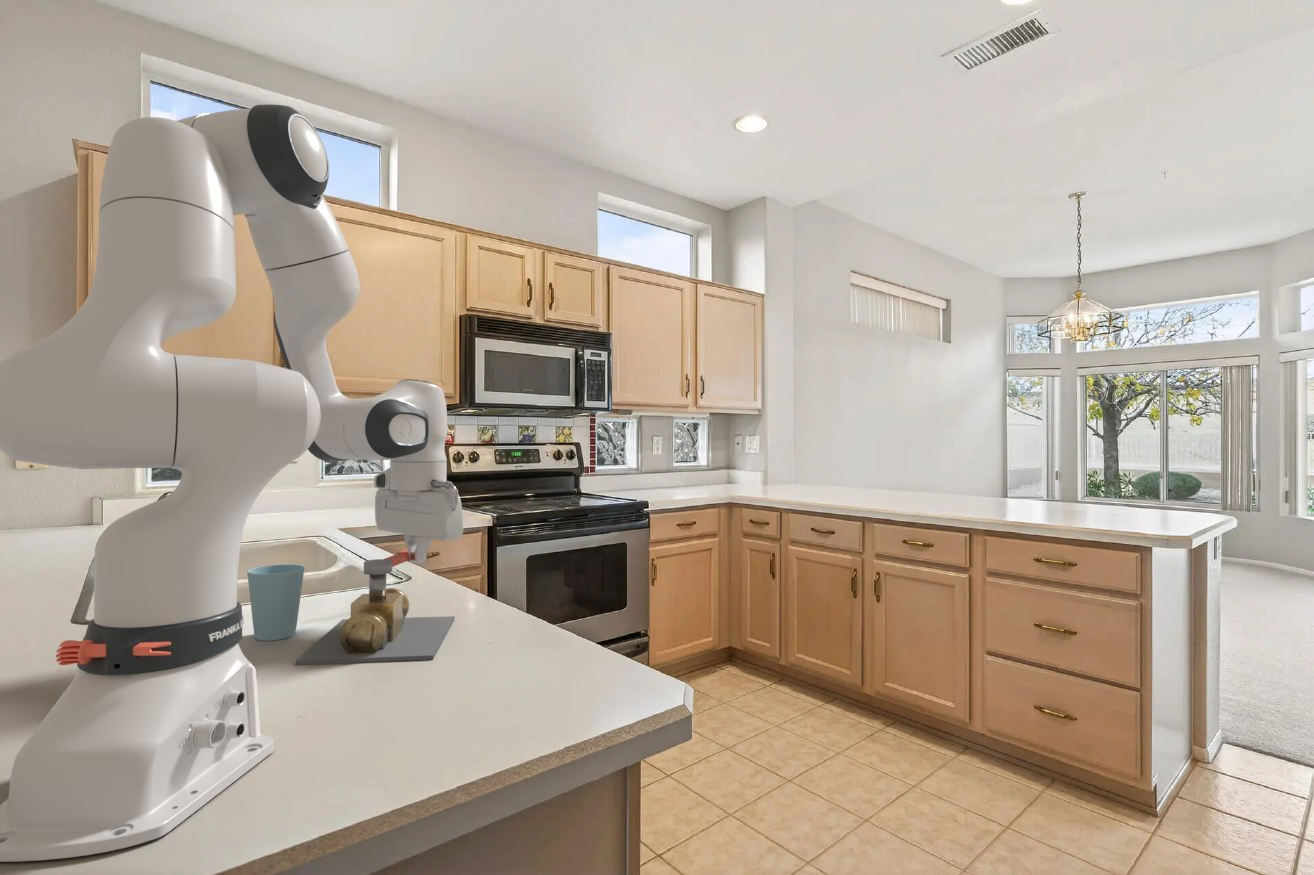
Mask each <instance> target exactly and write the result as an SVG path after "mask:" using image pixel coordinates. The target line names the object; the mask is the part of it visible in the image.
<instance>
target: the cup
mask: <svg viewBox="0 0 1314 875" xmlns="http://www.w3.org/2000/svg"><path fill="white" fill-rule="evenodd" d="M304 573H305V566H304V565H301V564H291V563H287V564H286V563H285V564H283V563H281V564H271V565H270V564H269V565H262V566H257V567H253V568H251V569H248V570H247V571H246V574H247V583H248V590H249V598H250V599H249V600H250V608H251V618H252V626H253V627H252V628H253V635H254V639H255V640H257V641H260V642H261V641H262V642H270V641H273V642H274V641H279V640H284V639H288V638H291V637H293V636H295V635H296V634H297V633H296V632H297V627H298V626H297V625H298V618H299V610H300V603H301V598H302V596H301V595H302V588H303V580H304Z"/></svg>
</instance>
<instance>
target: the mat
mask: <svg viewBox="0 0 1314 875" xmlns="http://www.w3.org/2000/svg"><path fill="white" fill-rule="evenodd" d="M348 619H349V618H347V619H346V618H345V619H341V620H340V621H339V622H338V623H337V624H335V625H334V626H333V627H332V628H331V629H329V631H328V632H327V633H325V634H324V635H323V636H322V637H320V638H319V639H318V640H317V641H316V642H315V643H314V644H313V645H311V646H310V647H309V648H308V649H307V650H306V651H304V652H303V653H302V654H301V655H300V656H299V657H297V659H295V663H294V664H295V665H296V666H297V665H298V666H299V665H323V664H326V665H327V664H348V663H349V664H350V663H351V664H352V663H353V664H354V663H379V662H402V661H403V662H404V661H405V662H406V661H426V660H427V661H431V660H434V659H435V657H436V655H437V653H438V652H439V649H440V648H441V645H442V643H443V642H444V640H445V638H446V636H447V635H448V632H449V631H450V629H451V627H452V626H453V623H454V622H455V616H426V617H425V616H422V617H419V616H418V617H417V616H416V617H405V618H404V624H403V625H402V631H401V632H400V633H399V634H398V636H397V637H396V638H395V639H394V641H393V642H389V643H388V644H387V645H386V646H385V648H384V649H378V650H377V651H376V652H375V653H357V654H349V653H348V652H346V651H345V650H344V648H343V647H342V645H341V643H340V630H341V628H342V626H343V624H344V623H345V622H346V621H347V620H348Z"/></svg>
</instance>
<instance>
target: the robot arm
mask: <svg viewBox="0 0 1314 875" xmlns="http://www.w3.org/2000/svg"><path fill="white" fill-rule="evenodd" d="M329 176H330V163H329V157H328V154H327V150H326V147H325V145H324V142H323V141H322V139H321V136H320V134H319V133H318V131H317V129H316V128H315V127H314V125H313V124H312V123H311V122H310V121H309V119H307V118H306V117H305V116H303V115H302V114H301V113H300V112H299V111H297V110H296V109H294V108H293V107H291V106H289V105H283V104H256V105H254V106H252V108H240V109H229V110H223V111H217V112H212V113H207V112H205V113H199V114H196V115H195V114H194V115H192V116H188V117H185V118H182V119H178V120H173V119H171V118H165V117H157V116H156V117H155V116H151V117H150V116H149V117H147V116H146V117H139V118H135V119H132V120H129V121H127V122H125V123H123V124H122V125H121V126H120V127H119V128H118V129H117V130H116V131H115V133H114V135H113V136H112V139H111V142H110V145H109V149H108V152H107V156H106V159H105V162H104V167H103V173H102V179H101V185H100V186H101V187H100V194H99V210H98V211H99V212H98V242H97V243H98V244H97V255H96V264H95V270H94V277H93V281H92V285H91V288H90V291H89V293H88V295H87V297H86V299H85V300H84V303H83V304H82V306H80V308H79V309H78V310H77V312H76V313H75V314H74V315H73V316H72V317H71V318H70V319H69V320H68V321H67V322H66V323H65V324H63V326H61V327H60V328H59V329H57V330H56V331H55V332H53V333H52V334H50V335H48V336H47V337H45V338H43V339H41V340H40V341H38V342H36V343H33V344H31V345H29V346H27V347H24V348H22V349H20V350H17V351H15V352H13V353H11V354H10V355H8V356H6V357H5V358H3V359H2V360H1V361H0V450H1V452H3V453H4V454H5V455H6V456H8V457H9V458H11V459H12V460H14V461H19V462H25V463H31V464H38V465H39V464H40V465H44V466H50V467H51V466H52V467H58V468H59V467H60V468H69V469H70V468H71V469H77V470H78V469H79V470H100V469H101V470H106V469H108V470H109V469H112V470H113V469H114V470H115V469H161V468H162V469H163V468H165V469H166V468H169V469H172V470H178V471H179V472H181V476H180V480H179V483H178V485H177V486H176V488H174V490H173V491H172V492H171V493H170V494H168V495H166V496H165V497H163V498H161V499H158V500H156V501H153V502H151V503H149V504H146V505H144V506H141V507H139V508H137V509H135V510H133V511H131V512H128V513H127V514H124V515H123V516H121V517H119V518H117V519H116V520H115V521H113V522H112V523H110V524H109V526H107V527H106V528H105V529H104V530H103V531H102V533H101V534H100V535H99V537H98V539H97V541H96V544H95V546H94V576H93V580H94V583H93V584H94V585H93V586H94V587H93V618H92V619H91V620H90V622H88V624H87V628H86V631H85V634H84V636H83V637H82V641H81V640H74V639H67V640H64V641H63V642H61V643H60V644H59V646H58V649H56V653H57V654H55V658H56V660H55V661H56V663H58V665H60V666H68V665H69V666H70V665H74V664H76V666H77V668H78V669H79V670H78V672H77V674H76V675H75V676H74V678H73V680H71V683H70V684H69V686H67V688H66V689H65V691H64V692H63V693H62V694H61V696H60V697H59V698H58V700H57V701H56V703H54V705H53V706H52V708H51V709H50V710H49V712H48V713H47V714H46V716H45V717H44V718H43V719H42V721H41V722H40V723H39V725H38V726H37V728H36V729H35V730H34V731H33V733H32V735H30V737H29V738H28V739H27V740H26V742H25V743H24V745H23V746H22V747H21V748H20V749H19V750H18V752H17V754H16V756H15V759H14V761H13V765H12V767H11V773H10V779H9V786H8V787H9V789H8V797H7V798H6V799H5V801H3V802H2V803H1V804H0V862H8V863H9V862H30V861H31V862H33V861H34V862H35V861H48V860H49V861H50V860H59V859H68V858H76V857H83V856H90V855H95V854H101V853H107V852H112V851H115V850H116V851H117V850H122V849H125V848H129V847H132V846H136V845H140V844H143V843H146V842H150V841H153V840H156V839H158V838H161V837H163V836H164V835H167V833H170V831H172V830H173V829H175V827H177V826H179V824H181V823H183V822H184V821H185V820H186V819H188V818H189V817H190V816H191V815H193V814H194V813H195V812H196V811H198V810H199V809H200V808H202V807H203V806H204V805H206V804H207V803H208V802H210V801H211V800H212V799H214V798H215V797H216V796H218V795H219V794H221V793H222V791H224V790H225V789H226V788H228V787H229V786H230V785H232V784H233V783H234V782H236V781H237V780H238V779H240V778H241V777H242V776H243V775H245V774H246V773H247V772H248V771H250V770H251V769H253V767H255V766H257V765H258V764H259V763H261V762H262V761H263V760H264V759H266V758H267V757H268V756H269V755H271V754H272V753H273V752H274V751H275V743H274V738H273V737H271V736H269V735H267V734H263V733H261V725H260V724H261V723H260V710H259V697H258V696H259V695H258V680H257V679H258V678H257V670H256V667H255V666H254V665H253V663H252V662H251V661H249V659H247V657H246V656H245V655H244V653H243V651H242V649H241V647H240V644H239V642H240V641H242V639H243V626H244V615H243V606H242V604H241V603H240V602H239V601H238V582H239V581H238V579H239V566H240V565H239V564H240V555H241V554H240V553H241V545H242V538H243V532H244V527H245V524H246V521H247V519H248V516H249V514H250V511H251V509H252V508H253V505H254V503H255V501H256V500H257V498H258V496H259V495H260V494H261V493H262V491H263V490H264V489H265V487H267V485H268V484H269V482H270V481H271V480H272V479H273V478H274V477H275V476H276V475H277V474H278V473H279V472H280V471H281V470H283V469H284V468H285V467H287V466H288V465H290V464H291V463H293V462H294V461H296V460H298V458H300V457H301V456H303V455H304V454H305V452H306V451H309V453H310V454H311V455H312V456H314V457H315V458H316V459H318V460H321V461H324V462H330V463H333V462H335V463H336V462H343V461H344V462H345V461H352V460H353V461H387V460H389V462H390V463H389V467H388V468H386V469H385V470H384V471H382V472H380V473H378V474H376V475H375V476H374V478H373V487H374V488H375V489H377V491H376V492H375V496H374V497H375V498H374V500H375V501H374V517H375V524H376V527H377V529H378V530H379V531H382V532H388V533H395V534H398V535H399V534H400V535H404V544H405V547H406V549H408V552H409V561H408V562H410V563H414V564H418V565H419V564H425V563H426V561H427V552H428V550H429V548H430V545H431V543H432V540H437V541H455V540H459V539H460V538H461V537H462V535H463V533H464V519H463V518H464V517H463V516H464V515H463V507H462V506H463V505H462V500H461V497H460V495H459V490H458V488H457V487H456V486H455V485H454V482H452V481H449V480H447V477H448V476H447V475H448V474H447V471H448V470H447V466H448V462H447V461H448V459H447V455H446V450H445V446H446V445H445V444H446V440H447V438H448V410H447V403H446V402H447V400H446V398H445V393H444V390H443V389H442V387H440V386H439V385H437V384H435V383H432V382H430V381H427V380H419V379H413V378H412V379H411V378H410V379H409V378H408V379H406V378H405V379H401V380H398V381H397V382H396V384H395V385H394V386H393V387H392V388H390V389H389V390H387V391H385V392H383V393H380V394H378V395H374V396H373V397H363V398H349V397H347V396H345V395H344V394H343V393H342V392H341V391H340V389H339V387H338V385H337V381H336V377H335V374H334V370H333V368H332V367H333V366H332V364H331V360H330V356H329V353H328V349H327V338H328V335H329V333H330V330H331V329H332V328H333V327H334V326H336V324H338V323H339V322H341V321H342V320H343V319H344V318H346V316H348V315H349V313H350V312H352V310H353V309H354V307H355V305H356V304H357V301H358V299H359V296H360V292H361V285H360V278H359V273H358V270H357V266H356V263H355V261H354V259H353V256H352V254H351V253H352V252H351V251H350V249H349V246H348V243H347V241H346V238H345V236H344V234H343V232H342V230H341V227H340V224H339V223H338V221H337V219H336V217H335V215H334V213H333V211H332V209H331V208H330V206H329V204H328V202H327V201H326V199H325V197H324V193H325V192H326V189H327V185H328V182H329ZM241 215H244V218H245V219H246V222H247V226H248V230H249V232H250V236H251V239H252V242H253V245H254V247H255V251H256V253H257V255H258V256H257V257H258V259H259V261H260V264H261V266H262V268H263V269H264V273H265V275H266V278H267V281H268V283H269V286H270V289H271V294H272V297H273V304H274V311H273V328H274V332H275V336H276V341H277V343H278V346H279V350H280V352H281V353H280V354H281V356H282V359H283V363H284V366H285V367H283V366H277V365H274V364H271V363H266V362H261V361H256V360H252V359H241V358H228V357H226V358H225V357H214V356H213V357H212V356H203V355H202V356H200V355H188V354H175V353H174V354H173V353H172V352H167V351H165V350H163V349H162V347H161V345H163V343H164V342H165V341H167V340H168V339H170V338H171V337H174V336H176V335H179V334H181V333H184V332H187V331H192V330H196V329H199V328H202V327H204V326H207V325H209V324H212V323H214V322H216V321H217V320H219V319H221V318H222V317H224V316H225V315H226V314H227V313H228V312H229V311H230V310H231V309H232V308H233V305H234V304H235V300H236V297H237V271H236V270H237V267H236V263H237V262H236V236H235V234H236V232H235V218H234V216H241Z"/></svg>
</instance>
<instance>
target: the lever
mask: <svg viewBox="0 0 1314 875" xmlns="http://www.w3.org/2000/svg"><path fill="white" fill-rule="evenodd" d="M407 562H409V552H408V549H407V548H405V549H402V550H400V551H397V552H396V554H393V555H391V556H388V557H386V558H383V559H382V558H381V559H380V558H379V559H378V558H377V559H370V560H365V561H364V562H363V575H368V576H369V575H381V574H386V575H388V574H390V573H392V572H393V567H396V566H399V565H400V564H403V563H407Z"/></svg>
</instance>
